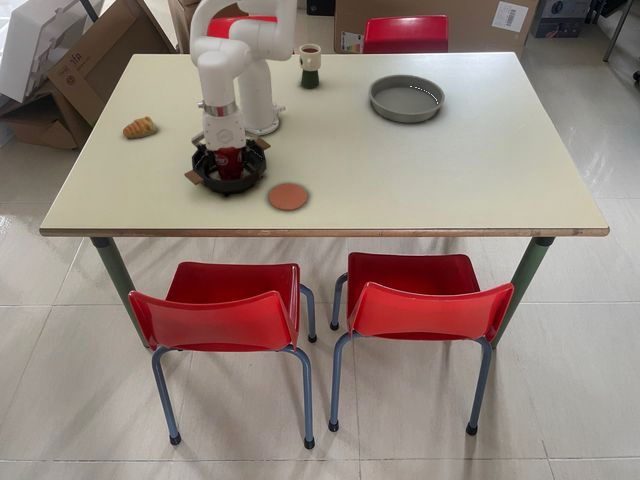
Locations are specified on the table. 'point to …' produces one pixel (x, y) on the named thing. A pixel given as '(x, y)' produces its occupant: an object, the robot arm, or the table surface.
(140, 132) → the pastry
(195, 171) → the wok
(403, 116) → the cake pan
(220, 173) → the soda can
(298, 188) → the coaster
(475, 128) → the table surface
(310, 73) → the character mug
